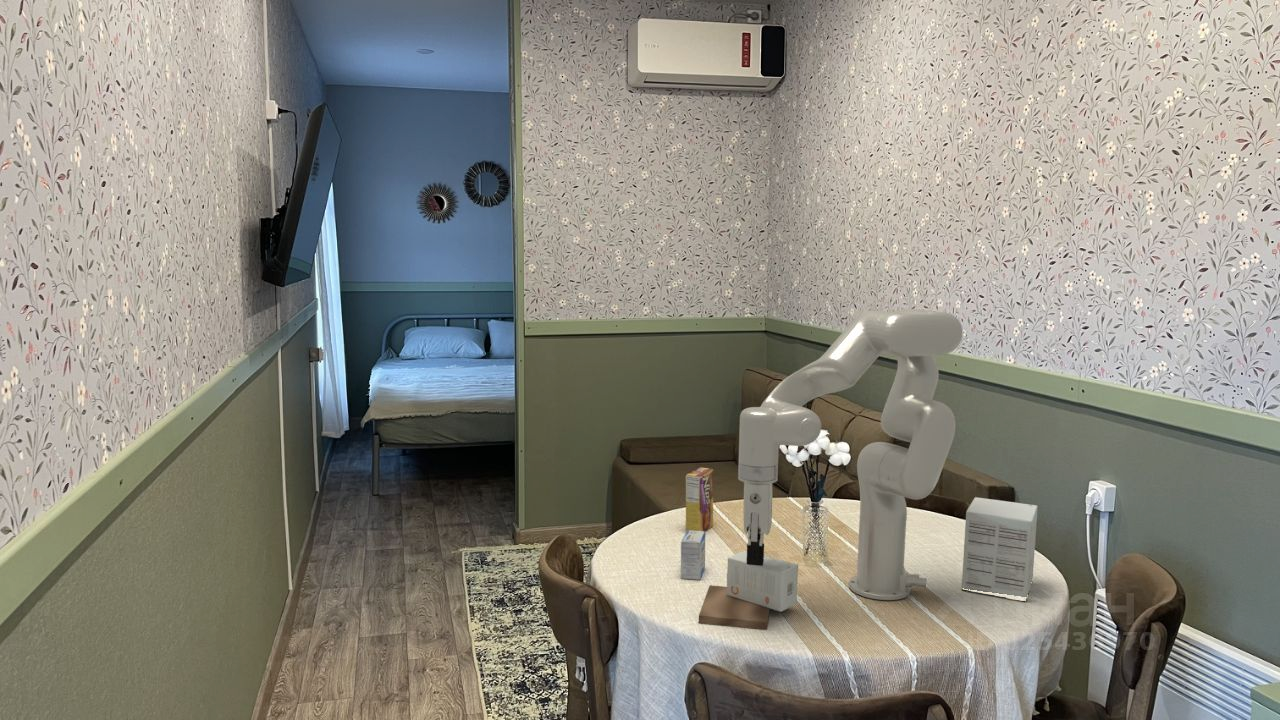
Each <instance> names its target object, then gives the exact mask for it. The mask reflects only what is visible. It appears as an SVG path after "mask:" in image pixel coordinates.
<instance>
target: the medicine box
mask: <svg viewBox="0 0 1280 720" xmlns="http://www.w3.org/2000/svg"><path fill="white" fill-rule="evenodd" d="M705 567H706V531H705V532H704V531H692V530H690V531H687V532H686V531H685V534H684V536H683V538H682V540H681V542H680V579H684V580H695V581H696V580H697V581H701V580H702V576H703V573H704V571H705Z"/></svg>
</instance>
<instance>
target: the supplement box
mask: <svg viewBox="0 0 1280 720" xmlns="http://www.w3.org/2000/svg"><path fill="white" fill-rule="evenodd" d="M1037 520H1038V505H1036V504H1028V503H1021V502H1014V501H1006V500H1000V499H990V498H985V497H984V498H983V497H976V496H975V497H974V498H973V499H972V502H971V503H970V504H969V506H968V508H967V510H966V511H965V527H964V540H963V541H964V545H963V563H962V577H961V588H964V589H968V590H969V589H970V590H977V591H983V592H992V593H999V594H1007V595H1014V596H1021V597H1027V595H1028V592H1029V589H1030V590H1031V588H1030V586H1031V587H1032V585H1031V582H1032V583H1033V580H1032V579H1034V578H1033V577H1034V566H1035V565H1034V563H1035V550H1036V537H1037V536H1036V535H1037ZM1029 593H1030V592H1029ZM1028 596H1029V595H1028Z"/></svg>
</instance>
